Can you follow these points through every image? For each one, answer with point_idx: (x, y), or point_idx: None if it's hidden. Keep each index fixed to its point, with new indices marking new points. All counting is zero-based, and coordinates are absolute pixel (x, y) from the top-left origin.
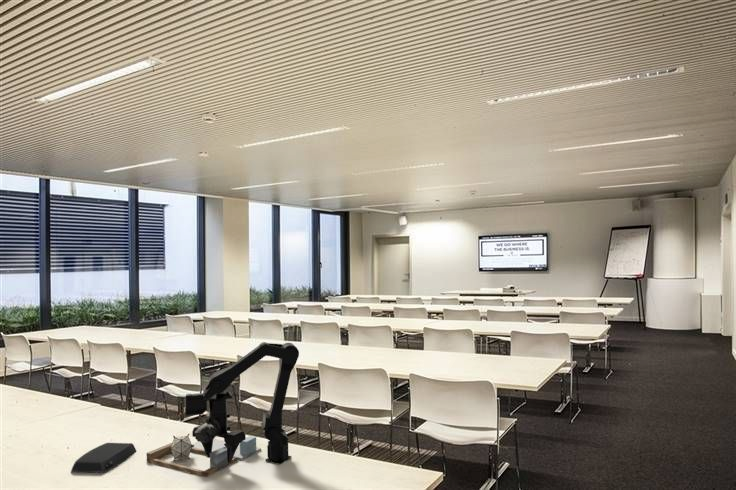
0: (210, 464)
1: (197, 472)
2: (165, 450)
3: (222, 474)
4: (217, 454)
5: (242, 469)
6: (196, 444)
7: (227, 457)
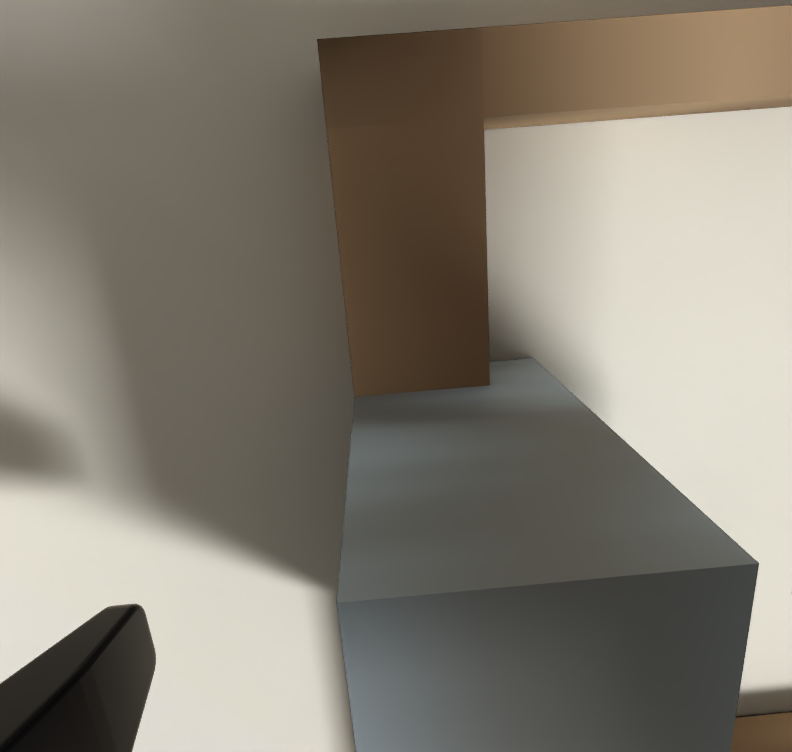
0: (557, 394)
1: (615, 30)
2: None
3: (157, 343)
4: (341, 636)
5: None
6: None
7: (36, 702)
